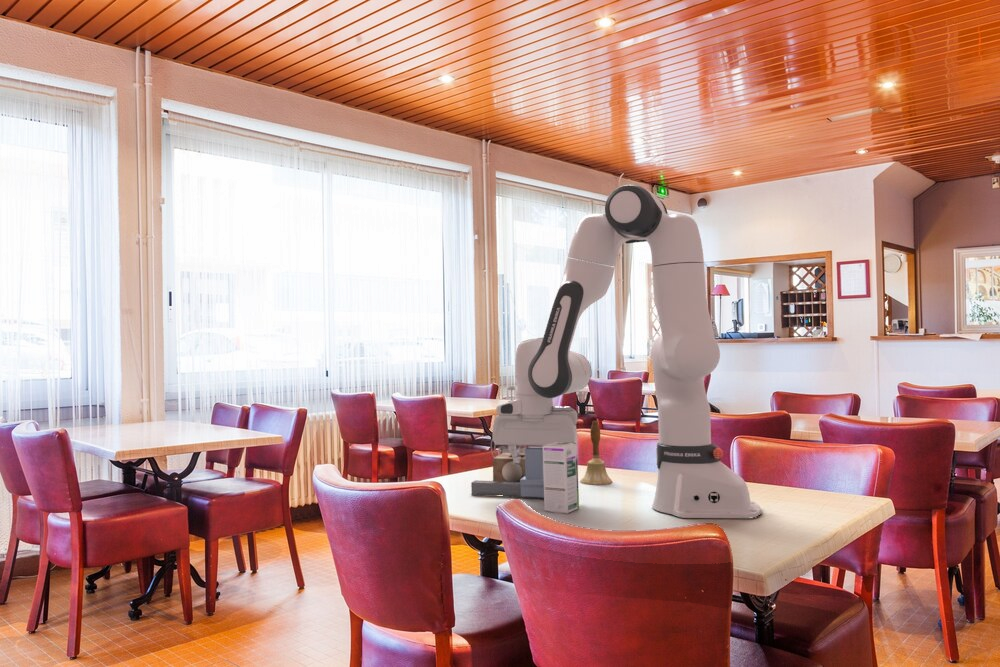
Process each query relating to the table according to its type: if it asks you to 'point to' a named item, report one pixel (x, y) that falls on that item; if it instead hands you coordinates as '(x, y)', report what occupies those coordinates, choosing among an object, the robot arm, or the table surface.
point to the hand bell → (596, 462)
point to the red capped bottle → (517, 450)
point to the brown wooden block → (508, 468)
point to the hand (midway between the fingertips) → (535, 464)
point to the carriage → (533, 473)
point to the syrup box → (560, 477)
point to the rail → (497, 488)
